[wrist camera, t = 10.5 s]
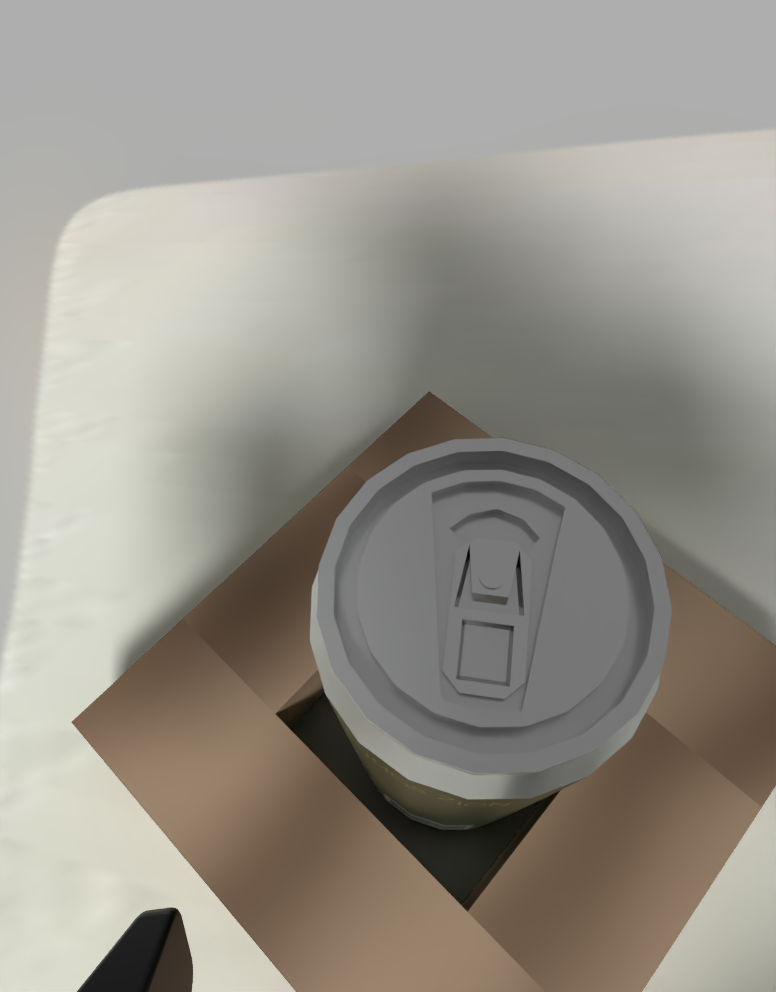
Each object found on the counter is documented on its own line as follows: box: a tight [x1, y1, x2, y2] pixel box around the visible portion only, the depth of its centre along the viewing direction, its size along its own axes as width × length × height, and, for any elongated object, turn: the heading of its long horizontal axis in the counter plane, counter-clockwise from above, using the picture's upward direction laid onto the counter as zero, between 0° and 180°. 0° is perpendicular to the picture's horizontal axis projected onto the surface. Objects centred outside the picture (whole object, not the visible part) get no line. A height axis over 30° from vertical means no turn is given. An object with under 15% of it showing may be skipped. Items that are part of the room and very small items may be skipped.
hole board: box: [72, 392, 776, 992], centre depth 20 cm, size 14×14×2 cm
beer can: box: [310, 438, 672, 830], centre depth 15 cm, size 5×5×12 cm
